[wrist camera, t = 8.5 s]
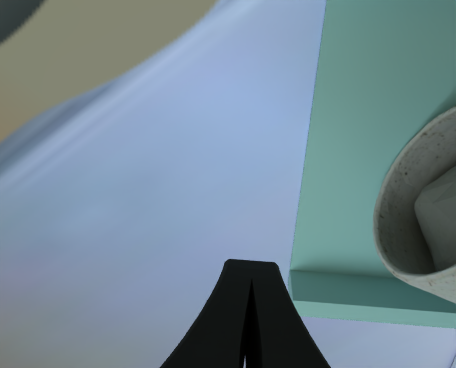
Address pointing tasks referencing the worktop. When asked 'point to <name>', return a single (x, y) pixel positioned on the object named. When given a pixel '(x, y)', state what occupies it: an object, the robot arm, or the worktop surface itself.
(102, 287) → the worktop surface
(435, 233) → the ceramic mug
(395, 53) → the tray
